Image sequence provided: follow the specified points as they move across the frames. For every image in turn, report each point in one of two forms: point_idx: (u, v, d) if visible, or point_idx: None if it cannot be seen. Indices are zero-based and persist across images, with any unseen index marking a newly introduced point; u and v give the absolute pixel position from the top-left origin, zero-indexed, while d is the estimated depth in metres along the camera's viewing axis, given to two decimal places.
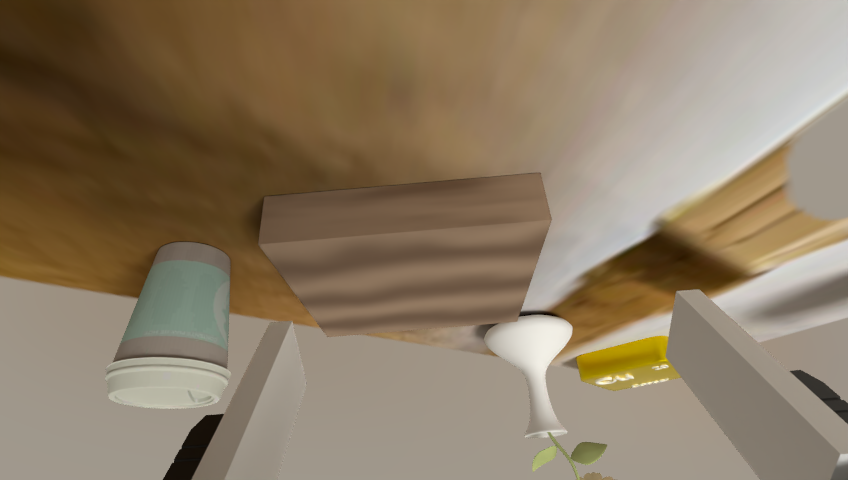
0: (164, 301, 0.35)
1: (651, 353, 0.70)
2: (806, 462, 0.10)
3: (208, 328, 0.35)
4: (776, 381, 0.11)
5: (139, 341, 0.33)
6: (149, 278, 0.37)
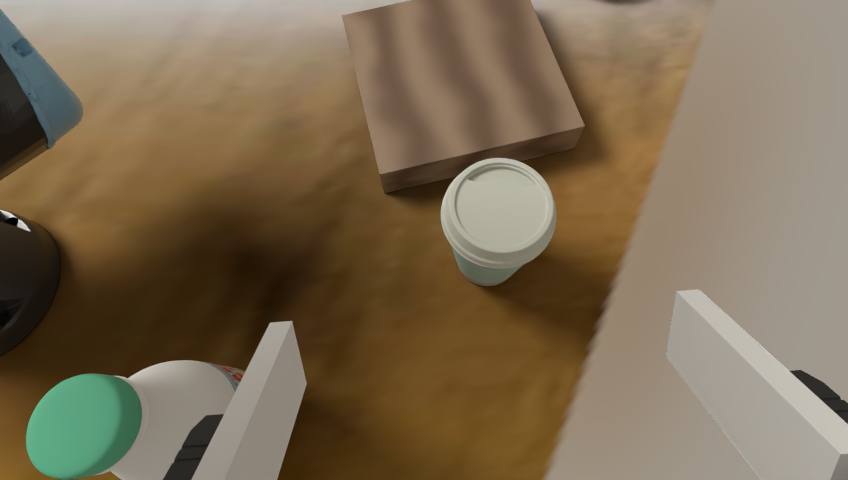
0: None
1: None
2: (806, 462, 0.10)
3: None
4: (776, 381, 0.11)
5: None
6: (465, 271, 0.40)
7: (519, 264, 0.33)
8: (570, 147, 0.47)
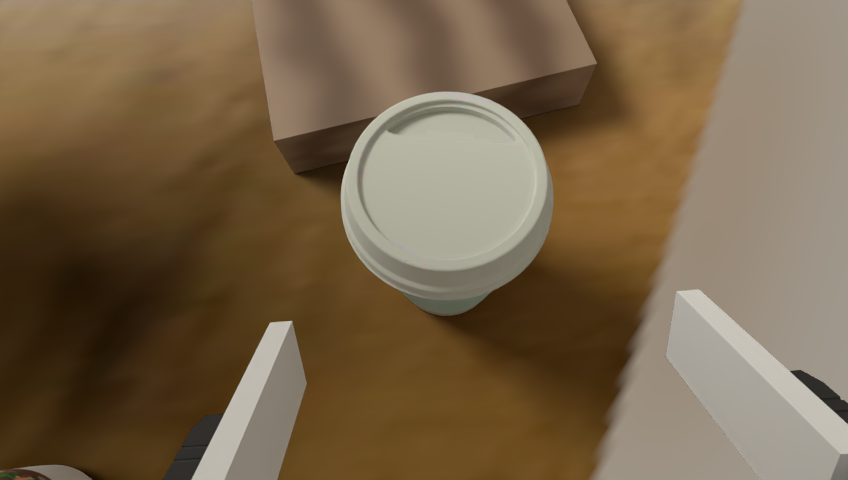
0: None
1: None
2: (806, 462, 0.10)
3: None
4: (776, 381, 0.11)
5: None
6: (405, 295, 0.25)
7: (483, 291, 0.17)
8: (574, 102, 0.32)
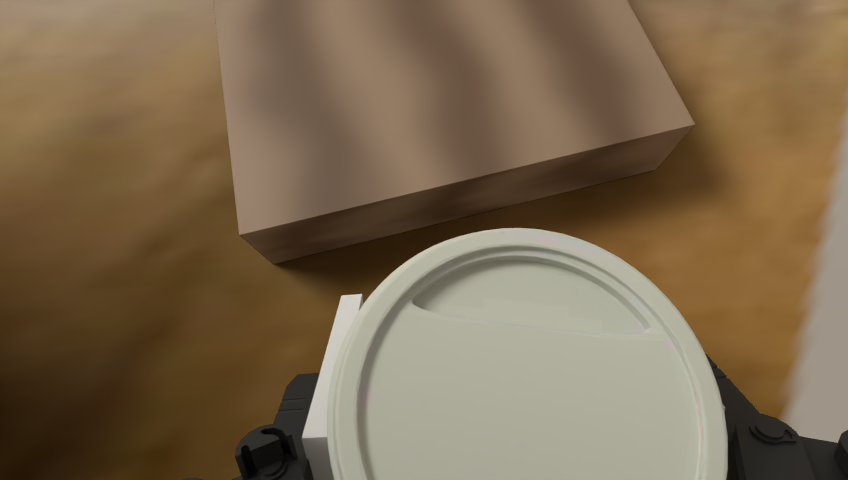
0: None
1: None
2: None
3: None
4: None
5: None
6: None
7: None
8: (650, 168, 0.23)
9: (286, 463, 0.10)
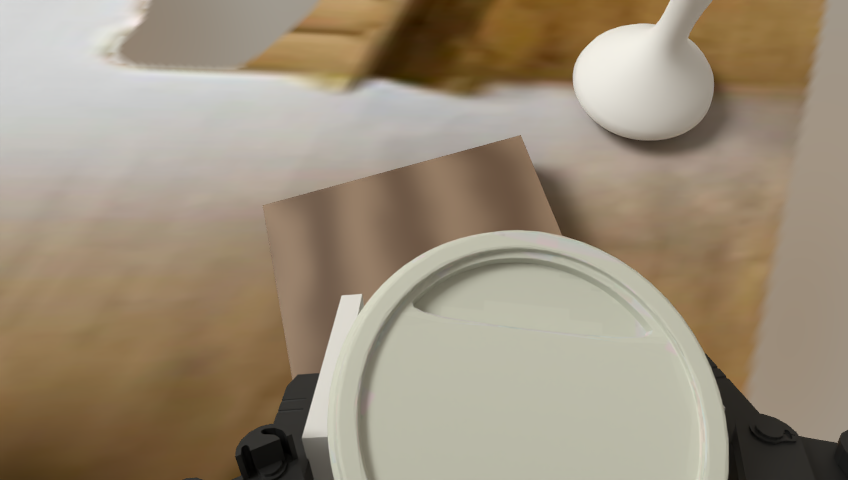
0: None
1: None
2: None
3: None
4: None
5: None
6: None
7: None
8: None
9: (286, 463, 0.10)
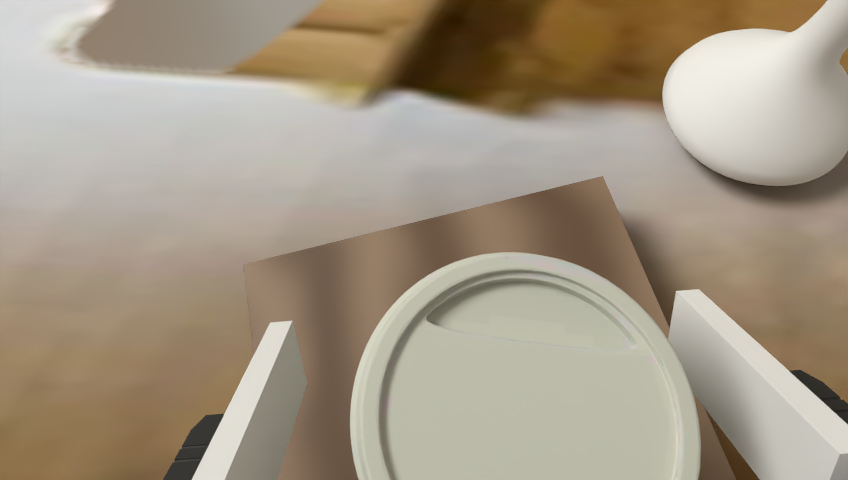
0: None
1: None
2: (806, 462, 0.10)
3: None
4: (776, 381, 0.11)
5: None
6: None
7: None
8: None
9: None
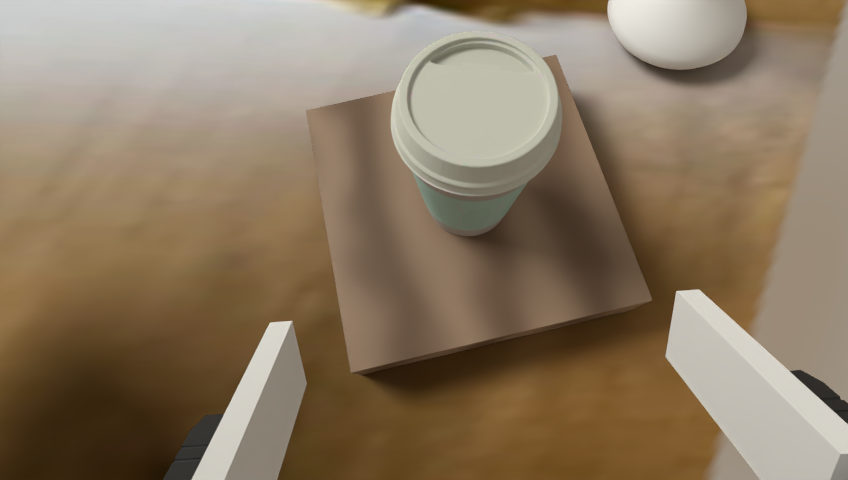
0: None
1: None
2: (806, 462, 0.10)
3: None
4: (776, 381, 0.11)
5: None
6: (434, 212, 0.29)
7: (504, 189, 0.22)
8: (625, 311, 0.33)
9: None
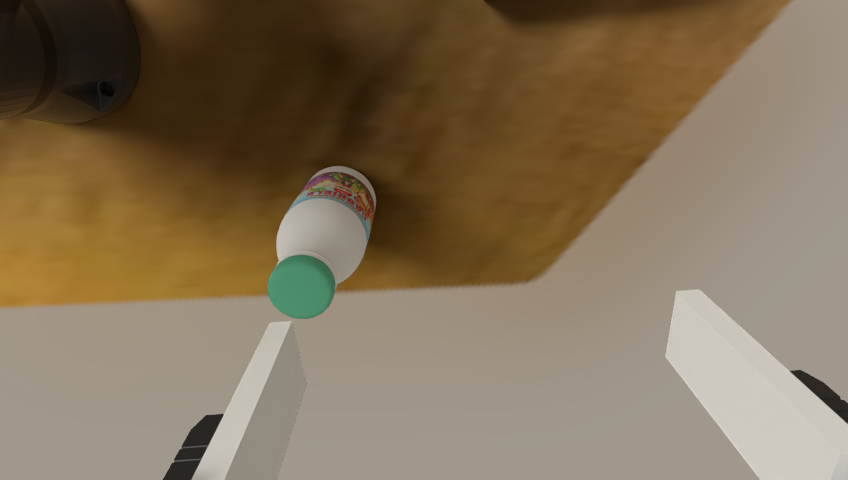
0: None
1: None
2: (806, 462, 0.10)
3: None
4: (776, 381, 0.11)
5: None
6: None
7: None
8: None
9: None
